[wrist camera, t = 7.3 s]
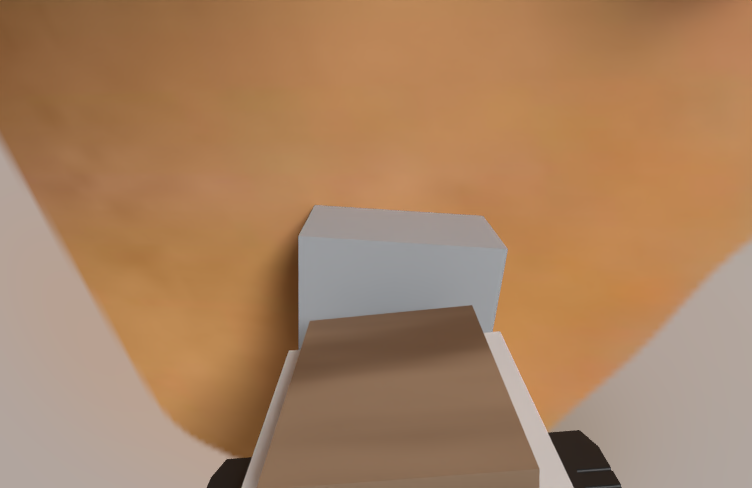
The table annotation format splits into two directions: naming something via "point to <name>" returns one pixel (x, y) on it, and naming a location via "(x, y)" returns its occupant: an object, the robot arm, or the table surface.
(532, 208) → the table surface
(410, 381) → the walnut block
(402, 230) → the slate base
